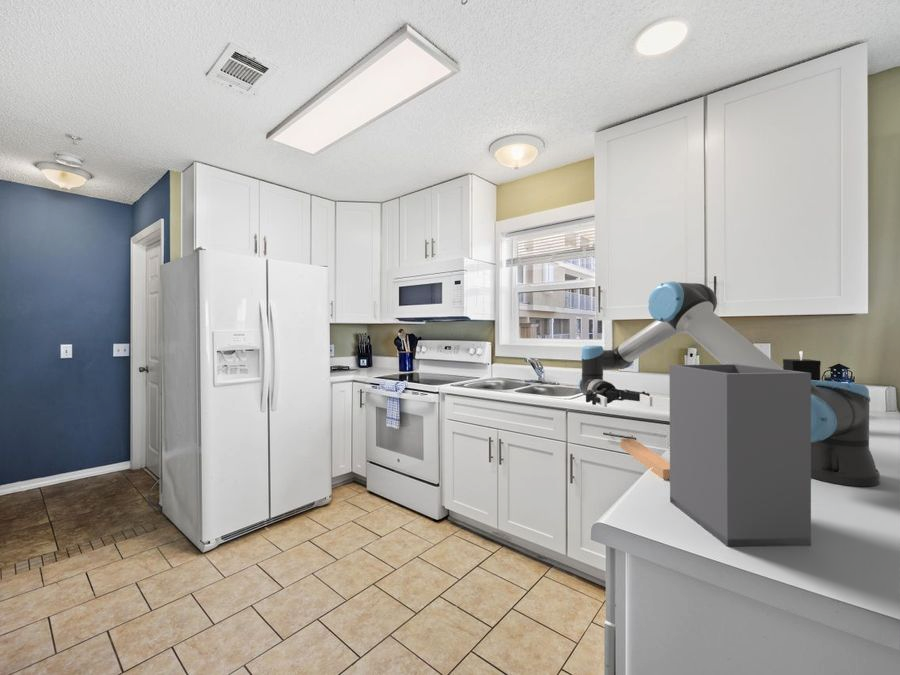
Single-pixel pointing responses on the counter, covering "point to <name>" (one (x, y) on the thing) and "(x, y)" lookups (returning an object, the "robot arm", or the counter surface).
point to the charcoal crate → (742, 452)
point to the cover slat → (647, 457)
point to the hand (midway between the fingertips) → (628, 402)
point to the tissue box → (803, 366)
